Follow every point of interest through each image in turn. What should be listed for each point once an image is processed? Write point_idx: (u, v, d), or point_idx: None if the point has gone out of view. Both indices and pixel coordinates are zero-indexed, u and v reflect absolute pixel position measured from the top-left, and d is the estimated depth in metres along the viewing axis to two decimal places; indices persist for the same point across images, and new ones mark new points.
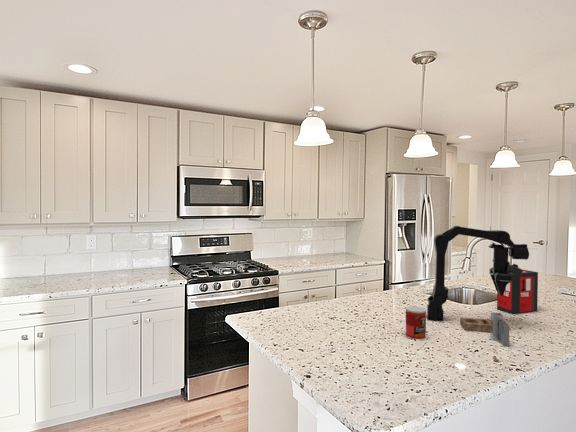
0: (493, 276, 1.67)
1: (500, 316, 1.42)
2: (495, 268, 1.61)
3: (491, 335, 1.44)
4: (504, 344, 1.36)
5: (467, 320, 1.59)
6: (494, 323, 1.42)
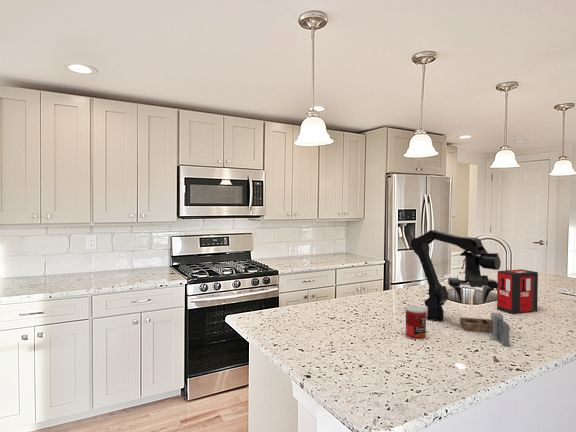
0: (483, 287, 1.57)
1: (500, 316, 1.42)
2: None
3: (491, 335, 1.44)
4: (504, 344, 1.36)
5: (467, 320, 1.59)
6: (494, 323, 1.42)
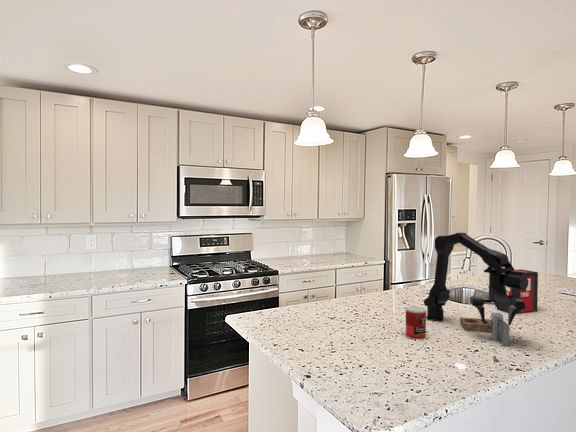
0: (509, 307, 1.44)
1: (500, 316, 1.42)
2: None
3: (491, 335, 1.44)
4: (504, 344, 1.36)
5: (467, 320, 1.59)
6: (494, 323, 1.42)
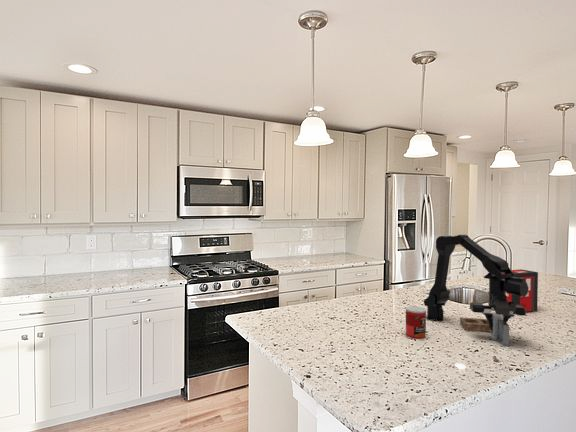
0: None
1: (500, 316, 1.42)
2: None
3: (491, 335, 1.44)
4: (504, 344, 1.36)
5: (467, 320, 1.59)
6: (494, 323, 1.42)
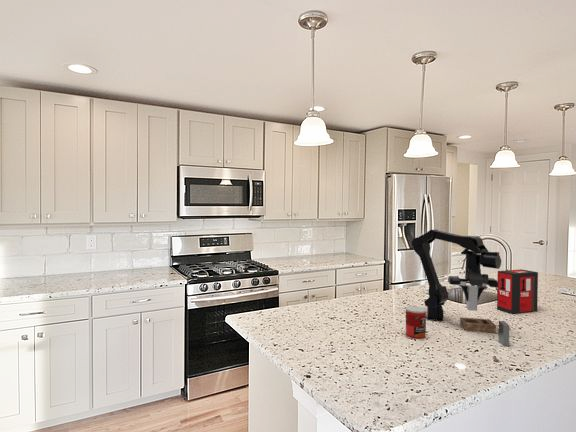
0: (477, 285, 1.57)
1: (475, 288, 1.54)
2: None
3: (467, 306, 1.57)
4: (504, 344, 1.36)
5: (467, 320, 1.59)
6: (469, 294, 1.55)
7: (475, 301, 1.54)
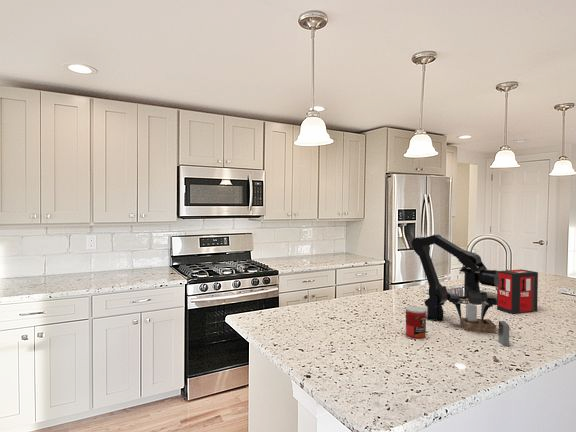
0: (482, 303, 1.57)
1: (474, 307, 1.55)
2: None
3: None
4: (504, 344, 1.36)
5: None
6: (468, 313, 1.55)
7: (474, 320, 1.55)
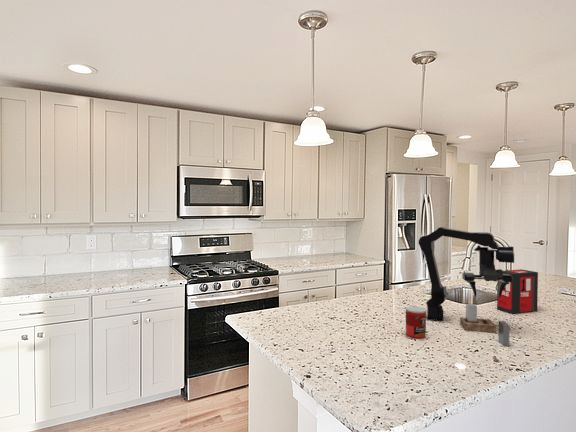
0: (498, 281, 1.58)
1: (474, 307, 1.55)
2: None
3: None
4: (504, 344, 1.36)
5: None
6: (468, 313, 1.55)
7: (474, 320, 1.55)
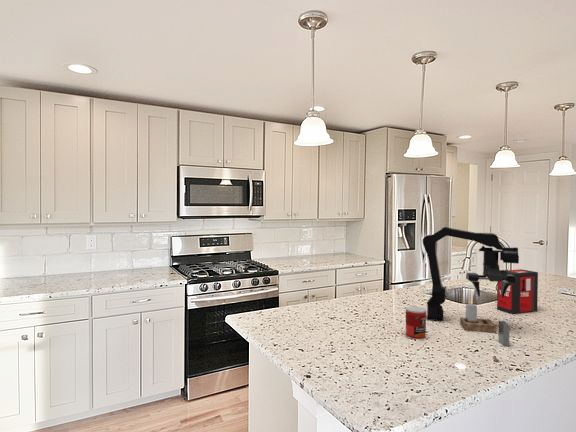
0: (501, 282, 1.59)
1: (474, 307, 1.55)
2: None
3: None
4: (504, 344, 1.36)
5: None
6: (468, 313, 1.55)
7: (474, 320, 1.55)
